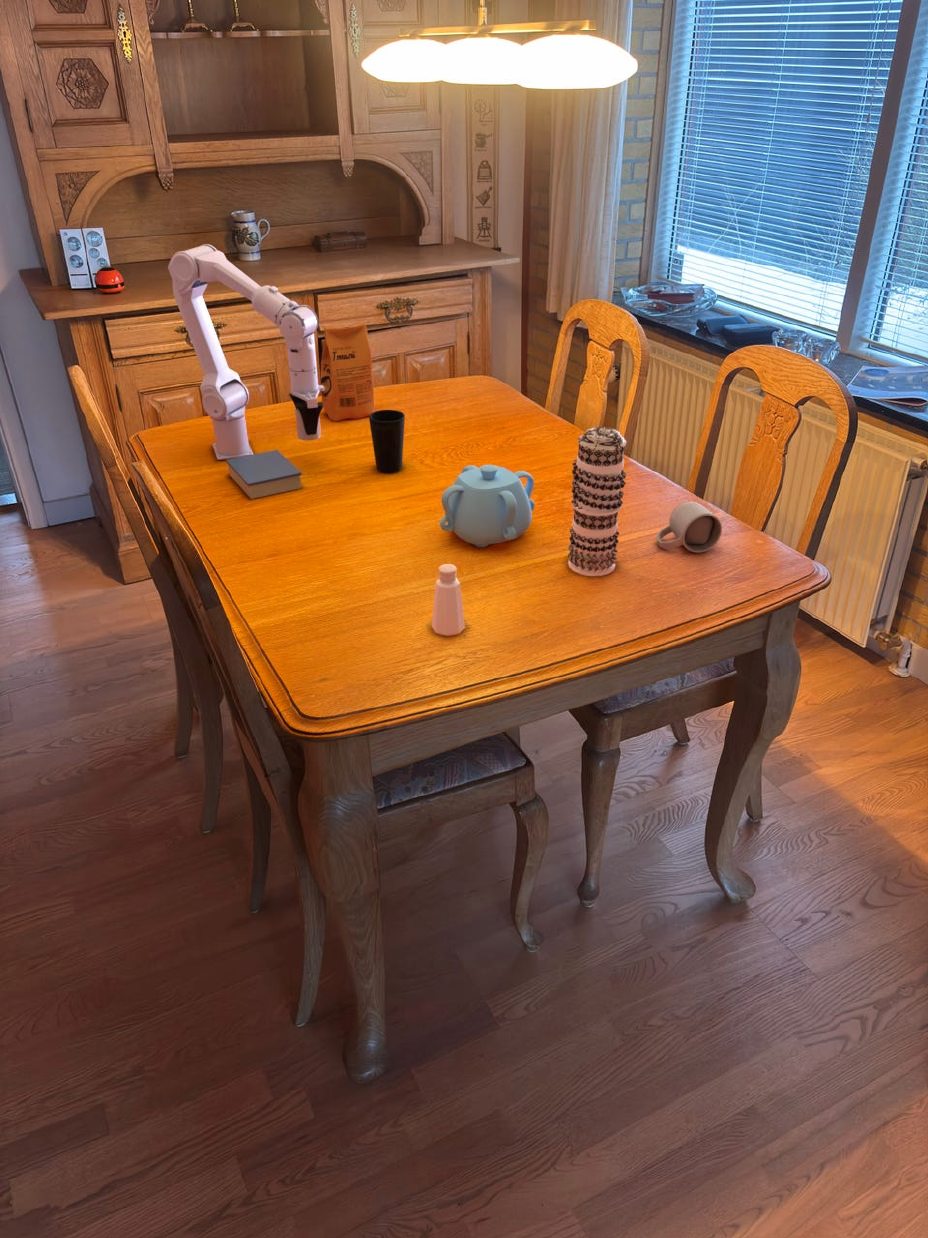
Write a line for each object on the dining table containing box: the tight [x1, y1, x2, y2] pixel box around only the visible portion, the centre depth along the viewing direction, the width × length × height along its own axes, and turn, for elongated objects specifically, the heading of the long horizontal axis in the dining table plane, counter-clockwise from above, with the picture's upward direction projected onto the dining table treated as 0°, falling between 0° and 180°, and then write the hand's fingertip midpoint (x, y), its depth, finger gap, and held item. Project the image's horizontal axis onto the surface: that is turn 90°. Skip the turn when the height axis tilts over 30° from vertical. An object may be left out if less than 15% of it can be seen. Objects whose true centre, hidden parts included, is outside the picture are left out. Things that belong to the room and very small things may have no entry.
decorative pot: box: [439, 464, 536, 548], centre depth 174 cm, size 16×16×14 cm
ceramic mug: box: [656, 500, 723, 554], centre depth 172 cm, size 11×8×8 cm
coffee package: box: [320, 322, 376, 422], centre depth 228 cm, size 10×12×22 cm
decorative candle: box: [567, 426, 628, 577], centre depth 160 cm, size 9×9×25 cm
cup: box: [368, 409, 406, 474], centre depth 201 cm, size 8×8×12 cm
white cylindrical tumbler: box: [294, 408, 322, 442], centre depth 201 cm, size 5×5×6 cm
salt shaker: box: [431, 563, 466, 637], centre depth 146 cm, size 5×5×11 cm
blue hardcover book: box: [225, 449, 303, 500], centre depth 197 cm, size 15×12×4 cm
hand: (308, 429), depth 201 cm, fingers closed on white cylindrical tumbler, 5 cm apart
